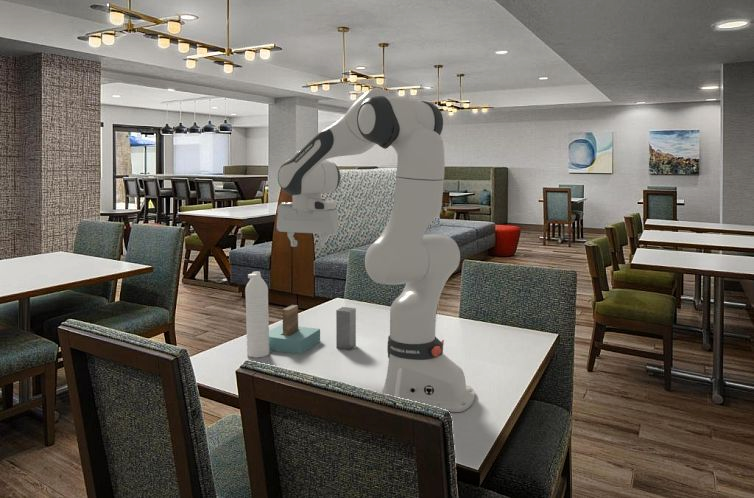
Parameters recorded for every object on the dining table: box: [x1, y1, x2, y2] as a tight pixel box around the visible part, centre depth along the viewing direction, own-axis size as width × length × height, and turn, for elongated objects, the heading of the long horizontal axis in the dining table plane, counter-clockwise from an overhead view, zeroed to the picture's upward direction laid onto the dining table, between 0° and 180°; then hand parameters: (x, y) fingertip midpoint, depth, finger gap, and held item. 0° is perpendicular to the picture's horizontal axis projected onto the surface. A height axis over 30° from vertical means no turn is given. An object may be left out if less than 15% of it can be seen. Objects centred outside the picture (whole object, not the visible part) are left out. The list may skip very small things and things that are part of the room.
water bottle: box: [244, 270, 271, 359], centre depth 156 cm, size 9×6×25 cm
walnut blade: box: [281, 304, 299, 336], centre depth 167 cm, size 2×6×12 cm, turn 159°
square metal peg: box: [335, 306, 357, 351], centre depth 166 cm, size 4×4×12 cm
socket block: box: [269, 323, 321, 355], centre depth 168 cm, size 14×13×4 cm
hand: (307, 247), depth 169 cm, fingers open, 8 cm apart
